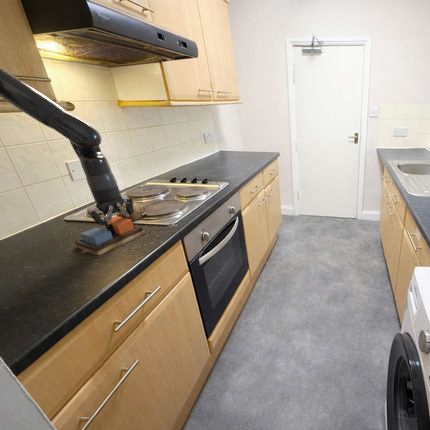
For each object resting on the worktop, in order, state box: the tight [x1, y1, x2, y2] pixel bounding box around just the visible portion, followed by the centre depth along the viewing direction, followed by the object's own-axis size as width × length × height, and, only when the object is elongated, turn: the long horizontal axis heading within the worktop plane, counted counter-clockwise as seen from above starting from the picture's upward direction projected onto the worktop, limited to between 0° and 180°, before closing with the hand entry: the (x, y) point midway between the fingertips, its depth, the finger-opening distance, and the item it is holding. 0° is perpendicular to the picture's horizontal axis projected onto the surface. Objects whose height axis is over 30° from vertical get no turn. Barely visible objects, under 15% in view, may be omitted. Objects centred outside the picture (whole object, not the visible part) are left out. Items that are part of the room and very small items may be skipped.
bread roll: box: [115, 202, 148, 221], centre depth 113 cm, size 10×10×8 cm
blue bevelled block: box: [80, 227, 113, 246], centre depth 91 cm, size 5×8×4 cm, turn 66°
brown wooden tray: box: [74, 224, 146, 256], centre depth 95 cm, size 16×13×3 cm
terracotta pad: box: [104, 216, 134, 235], centre depth 97 cm, size 5×8×4 cm, turn 66°
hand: (120, 229), depth 98 cm, fingers closed on terracotta pad, 5 cm apart
